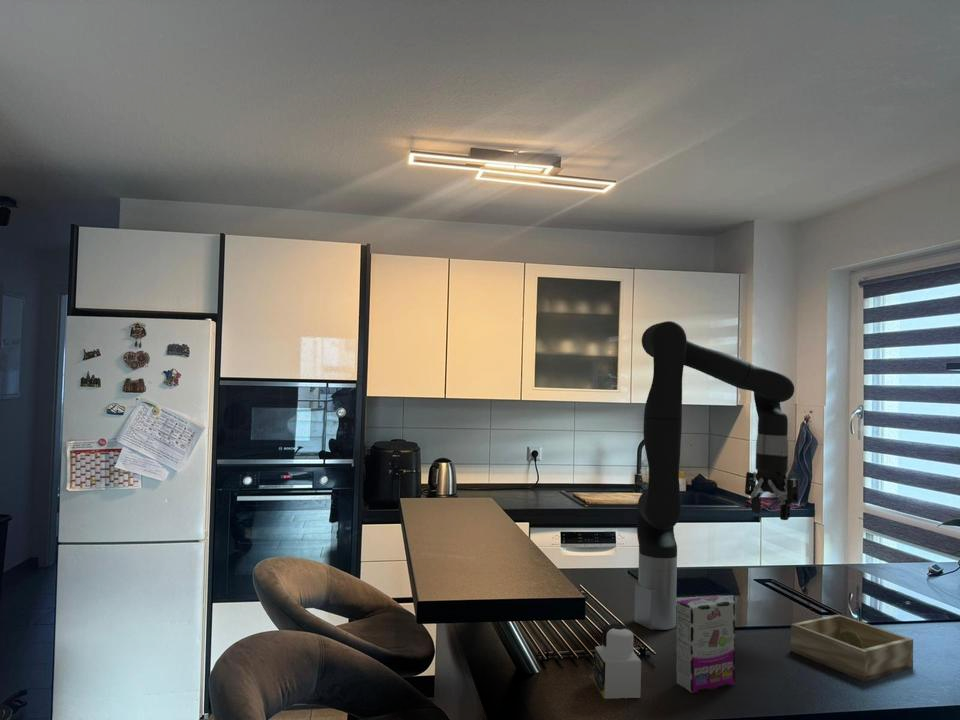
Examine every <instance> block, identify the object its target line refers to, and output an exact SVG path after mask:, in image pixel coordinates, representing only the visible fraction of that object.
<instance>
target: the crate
mask: <svg viewBox="0 0 960 720" xmlns="http://www.w3.org/2000/svg"><path fill="white" fill-rule="evenodd" d="M844 631H851V632H854V633H856V634H857V635H858V636H859V638H860V639H861V641H862V649H861V648H858V647H856V646H853V645H850V644H848V643H845V642H842V641H840V640H837V637H838V636H839V634H840V633H841V632H844ZM790 652H791V653H795V654H798V655H799V656H802V657H804V658H807V659H809V660H811V661H814V662H816V663H819V664H821V665H823V666H825V667H828V668H830V669H833V670H835V671H838V672H840V673H843V674H845V675H847V676H850V677H851V678H855V679H857V680H860V681H862V682H863V683H866V682H868V681H872V680H876V679H879V678H882V677H886V676H889V675H893V674H896V673H900V672H903V671H906V670H909V669H913V668H914V639H913V638H910V637H906V636H904V635H901V634H898V633H895V632H893V631H890V630H887V629H883V628H881V627H878V626H875V625H872V624H869V623H867V622H863V621H860V620H857V619H853V618H852V617H848V616H846V615H845V616H844V615H842V614H840V613H839V614H833V615H828V616H824V617H820V618H814V619H809V620H805V621H799V622H795V623H791V624H790Z"/></svg>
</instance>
